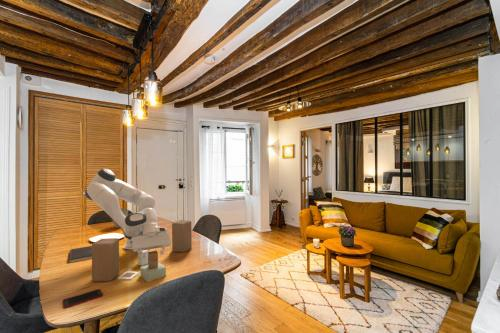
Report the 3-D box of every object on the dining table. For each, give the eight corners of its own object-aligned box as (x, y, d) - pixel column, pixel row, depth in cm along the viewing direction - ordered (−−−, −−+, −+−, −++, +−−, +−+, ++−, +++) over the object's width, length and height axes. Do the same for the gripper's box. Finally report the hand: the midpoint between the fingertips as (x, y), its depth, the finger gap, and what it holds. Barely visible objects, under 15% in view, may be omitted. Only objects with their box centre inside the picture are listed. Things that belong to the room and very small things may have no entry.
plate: (99, 246, 181) (99, 243, 181) (84, 241, 193) (84, 238, 193) (129, 238, 200) (129, 235, 200) (113, 234, 213) (113, 231, 213)
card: (117, 279, 129) (117, 277, 129) (126, 272, 137) (126, 270, 137) (131, 279, 128) (131, 278, 128) (139, 273, 136) (139, 271, 136)
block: (192, 248, 175) (191, 220, 175) (182, 253, 166) (182, 223, 166) (181, 246, 179) (181, 219, 179) (171, 250, 170) (171, 222, 170)
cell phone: (62, 301, 109) (62, 299, 109) (100, 290, 118) (100, 288, 118) (63, 309, 103) (63, 307, 103) (103, 297, 112) (103, 294, 112)
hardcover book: (97, 248, 178) (97, 244, 178) (98, 258, 159) (98, 254, 159) (70, 252, 169) (70, 249, 169) (68, 263, 150) (68, 260, 150)
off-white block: (137, 264, 148) (137, 251, 148) (145, 261, 152) (145, 249, 151) (141, 266, 145) (141, 252, 145) (148, 263, 149) (148, 250, 149)
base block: (140, 276, 133) (140, 267, 133) (158, 270, 140) (158, 261, 140) (147, 282, 126) (147, 272, 126) (165, 276, 133) (165, 267, 133)
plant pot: (107, 228, 229) (107, 211, 229) (118, 224, 244) (118, 208, 244) (121, 229, 227) (121, 212, 226) (131, 225, 241) (131, 209, 241)
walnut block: (148, 266, 134) (148, 251, 134) (156, 264, 136) (156, 250, 136) (149, 269, 130) (148, 254, 130) (158, 267, 132) (157, 253, 132)
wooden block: (101, 273, 135) (101, 238, 135) (120, 272, 136) (119, 237, 136) (91, 282, 125) (90, 244, 125) (111, 281, 126) (110, 243, 126)
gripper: (131, 232, 134) (131, 256, 125) (169, 228, 143) (172, 249, 135) (131, 238, 138) (131, 261, 129) (168, 233, 147) (171, 254, 139)
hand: (153, 255), depth 132 cm, fingers open, 8 cm apart
